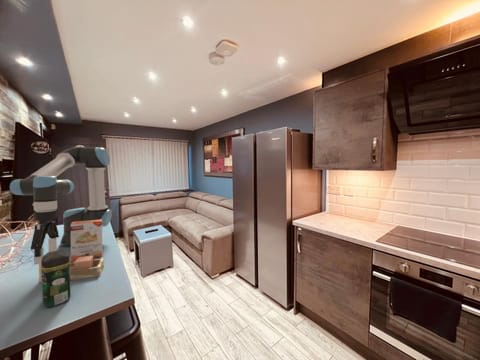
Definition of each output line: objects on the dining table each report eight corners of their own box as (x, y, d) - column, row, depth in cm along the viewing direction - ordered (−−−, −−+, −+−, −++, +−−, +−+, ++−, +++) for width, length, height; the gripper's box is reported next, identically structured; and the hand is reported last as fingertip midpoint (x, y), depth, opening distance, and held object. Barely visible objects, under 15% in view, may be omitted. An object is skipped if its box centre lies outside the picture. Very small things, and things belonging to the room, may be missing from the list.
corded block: (44, 276, 92) (44, 255, 91) (93, 269, 100) (93, 249, 99) (38, 283, 86) (37, 261, 86) (90, 274, 94) (90, 254, 94)
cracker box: (70, 262, 106) (69, 224, 105) (72, 258, 111) (71, 221, 110) (102, 256, 114) (102, 220, 113) (102, 253, 119) (102, 218, 118)
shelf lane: (66, 271, 97) (66, 263, 97) (104, 265, 103) (103, 258, 103) (58, 282, 87) (58, 273, 87) (99, 275, 94) (99, 267, 94)
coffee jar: (41, 299, 76) (39, 252, 75) (68, 290, 82) (67, 246, 81) (43, 311, 70) (42, 260, 69) (72, 301, 76) (71, 253, 75)
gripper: (47, 206, 98) (47, 248, 98) (17, 216, 75) (18, 271, 76) (66, 205, 101) (66, 246, 102) (44, 215, 79) (44, 267, 79)
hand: (46, 257), depth 89 cm, fingers open, 13 cm apart
